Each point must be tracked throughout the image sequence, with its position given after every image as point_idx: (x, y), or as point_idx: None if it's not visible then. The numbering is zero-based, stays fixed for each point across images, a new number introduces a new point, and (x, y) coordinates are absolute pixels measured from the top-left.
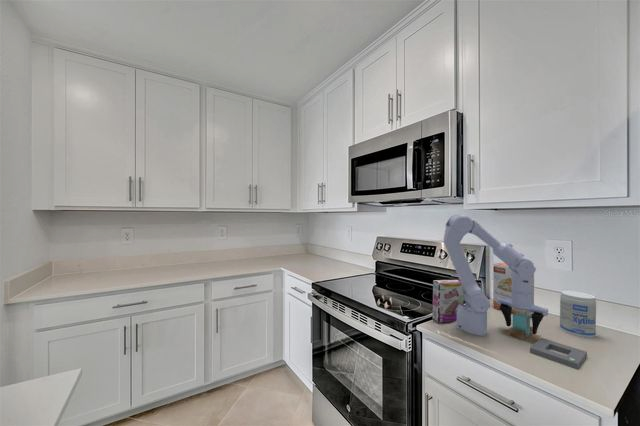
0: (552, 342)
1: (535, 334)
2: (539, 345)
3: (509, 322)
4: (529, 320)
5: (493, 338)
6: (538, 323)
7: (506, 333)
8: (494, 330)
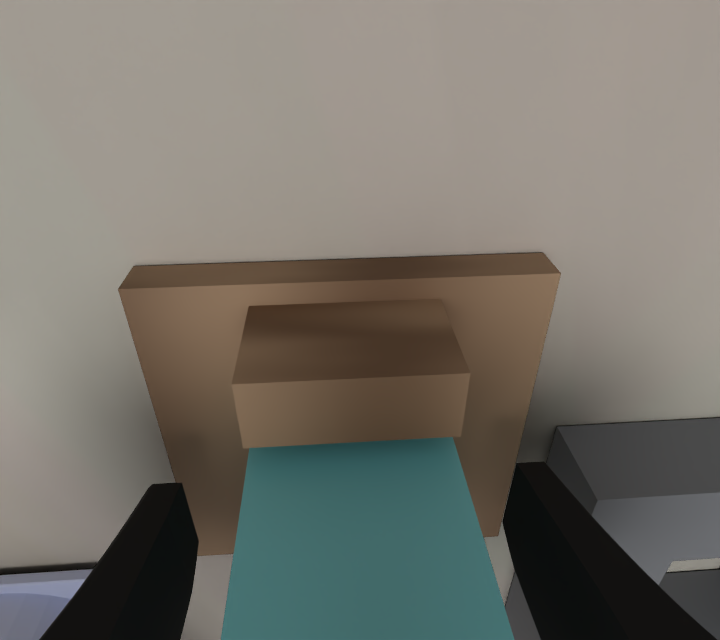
0: (703, 519)
1: (485, 284)
2: None
3: (178, 582)
4: (499, 634)
5: (195, 599)
6: (658, 618)
7: (227, 526)
8: (54, 462)
